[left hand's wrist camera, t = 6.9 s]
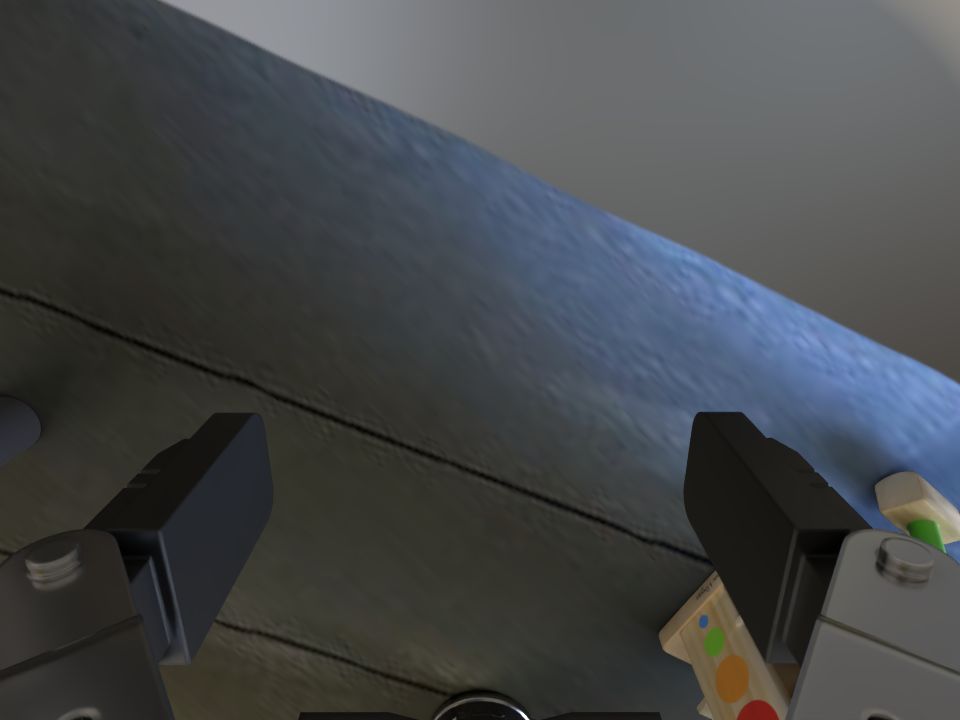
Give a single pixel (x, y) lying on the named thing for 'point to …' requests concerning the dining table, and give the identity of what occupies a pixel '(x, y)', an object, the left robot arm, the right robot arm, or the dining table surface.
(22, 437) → the bottle
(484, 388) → the dining table surface
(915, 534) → the pounding bench toy
